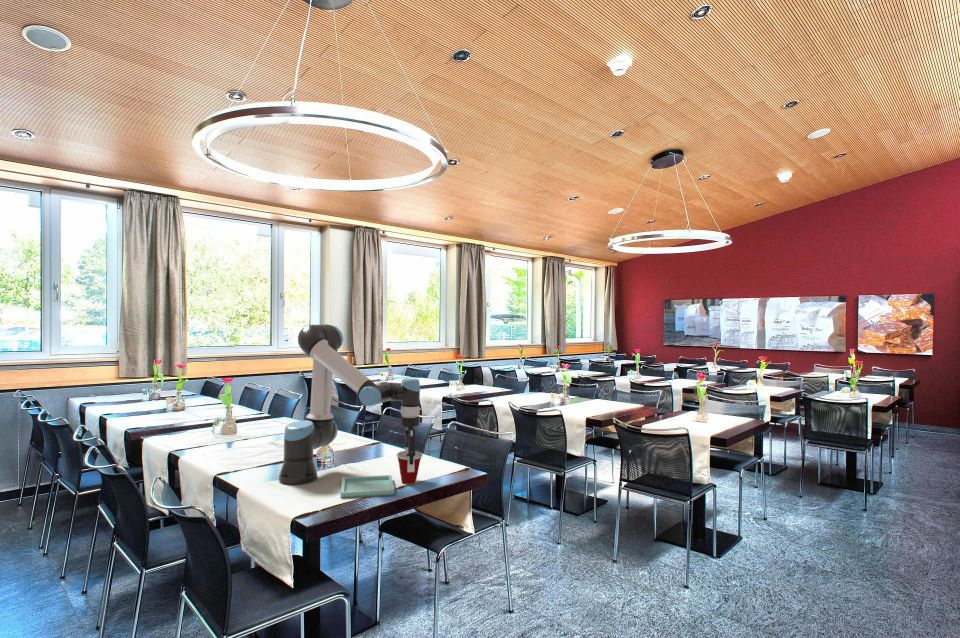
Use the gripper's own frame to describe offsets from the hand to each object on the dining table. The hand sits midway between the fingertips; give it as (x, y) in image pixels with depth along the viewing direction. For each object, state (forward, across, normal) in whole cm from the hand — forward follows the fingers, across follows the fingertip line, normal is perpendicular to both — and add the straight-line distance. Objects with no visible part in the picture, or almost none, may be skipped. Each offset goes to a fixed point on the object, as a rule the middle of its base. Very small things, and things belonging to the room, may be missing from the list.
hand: (409, 467), depth 219 cm
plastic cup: (+7, 0, 0) cm, 7 cm away
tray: (+6, -5, +17) cm, 19 cm away
